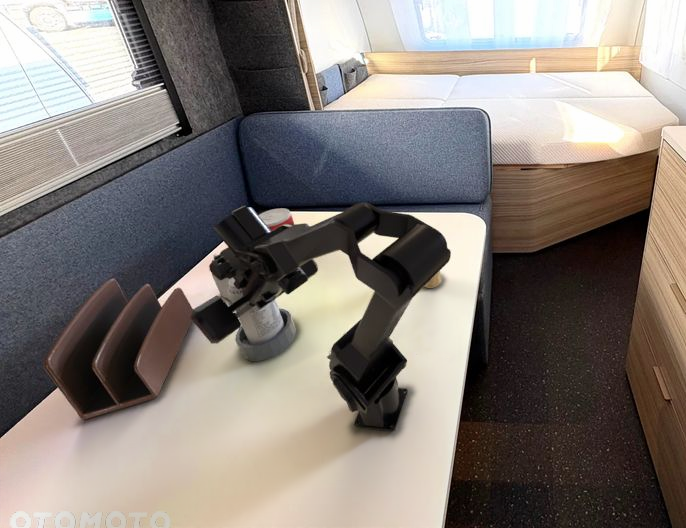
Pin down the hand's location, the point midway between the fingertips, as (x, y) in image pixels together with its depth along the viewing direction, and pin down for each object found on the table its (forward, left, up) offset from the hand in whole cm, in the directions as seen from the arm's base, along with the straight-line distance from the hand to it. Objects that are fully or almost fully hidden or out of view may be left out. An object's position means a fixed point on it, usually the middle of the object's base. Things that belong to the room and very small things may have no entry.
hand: (251, 304), depth 71 cm
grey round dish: (-1, -1, -8) cm, 9 cm away
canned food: (+25, +13, -9) cm, 30 cm away
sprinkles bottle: (+17, -28, -9) cm, 34 cm away
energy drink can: (-1, -2, -8) cm, 8 cm away
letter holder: (-7, +19, -9) cm, 22 cm away
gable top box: (+10, +14, -9) cm, 19 cm away
